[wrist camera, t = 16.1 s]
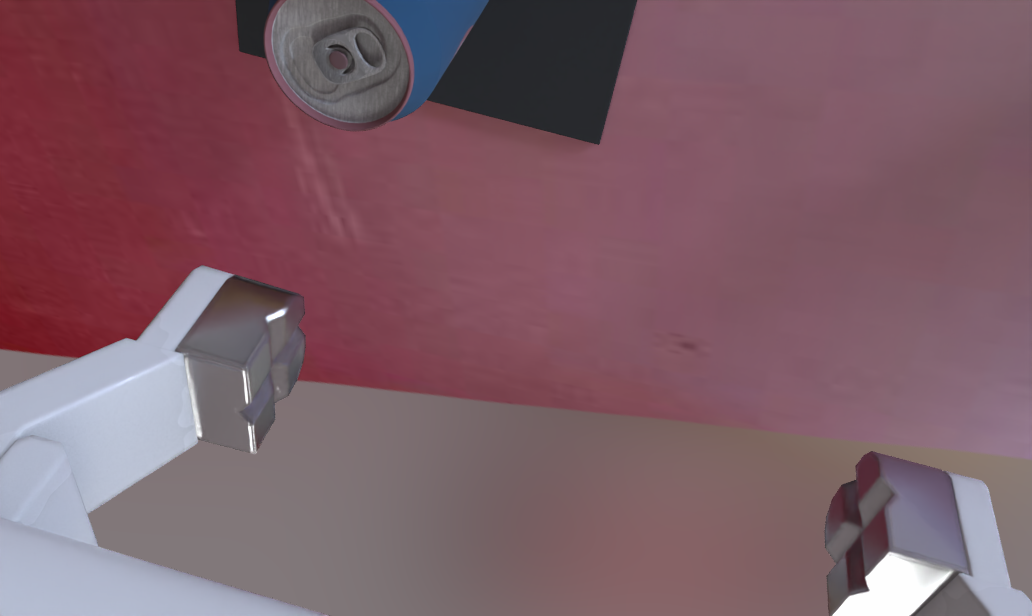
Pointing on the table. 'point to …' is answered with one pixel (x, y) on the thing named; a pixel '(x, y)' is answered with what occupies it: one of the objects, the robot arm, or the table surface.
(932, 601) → the robot arm
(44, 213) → the table surface
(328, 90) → the soda can
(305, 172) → the table surface
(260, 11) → the mat
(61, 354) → the table surface
